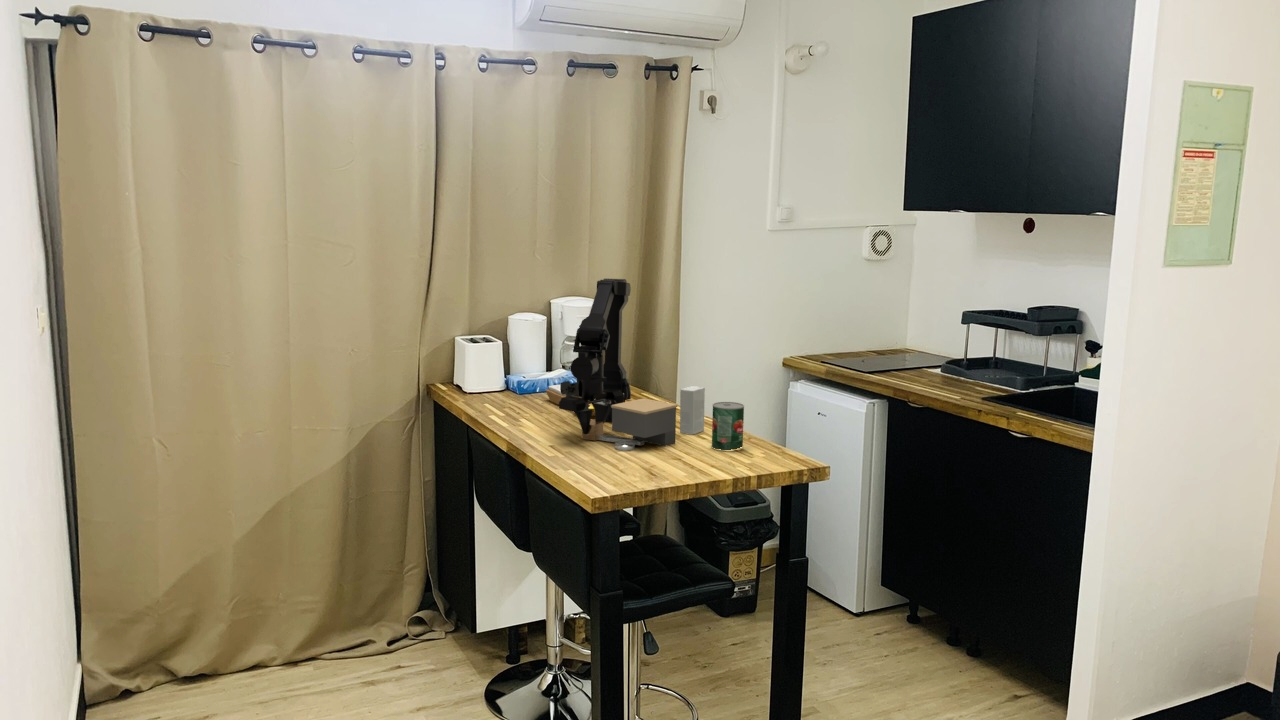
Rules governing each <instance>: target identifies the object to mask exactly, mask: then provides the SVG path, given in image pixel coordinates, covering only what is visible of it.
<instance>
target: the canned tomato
mask: <svg viewBox="0 0 1280 720" xmlns="http://www.w3.org/2000/svg"><path fill="white" fill-rule="evenodd" d="M744 411H745V405H744V404H743V403H741V402H734V401H720V402H719V401H717V402H714V403H712V420H711V421H712V423H711V425H712V429H711V435H712V436H711V448H712V447H713V448H715V449H721V450H731V449H737V448H740V447H742V446H743V445H744V417H745V416H744V415H745V412H744ZM743 447H744V446H743ZM713 448H712V449H713ZM715 449H714V450H715Z"/></svg>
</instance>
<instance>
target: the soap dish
mask: <svg viewBox="0 0 1280 720" xmlns="http://www.w3.org/2000/svg"><path fill="white" fill-rule="evenodd" d="M560 385H561V384H555V385H554V384H553V385H548V388H547V389H545V392H546V395H547V398H548V400H549V401H550V402H552V403H554V404H556V405H558V406H559V400H560V399H561V398H564V397H566V394H564V395H562V394H561V390H560ZM573 397H574V396H573ZM575 397H576V396H575ZM578 398H581V397H578ZM588 401H590V400H588Z"/></svg>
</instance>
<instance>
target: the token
mask: <svg viewBox="0 0 1280 720" xmlns="http://www.w3.org/2000/svg"><path fill="white" fill-rule="evenodd" d="M614 449H615V450H616V451H618V452H631V451H634V450H635V449H636V445H635V444H634V443H632V442H618V443H617V442H614Z"/></svg>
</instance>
